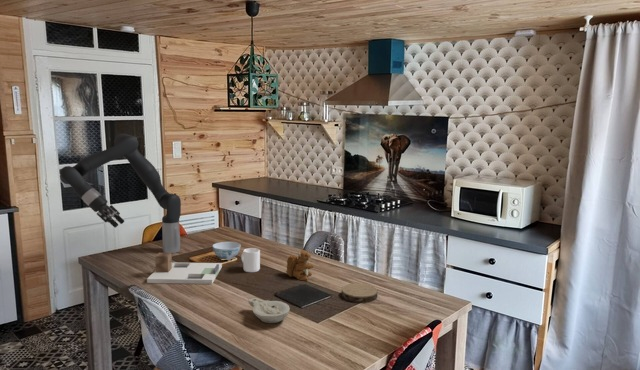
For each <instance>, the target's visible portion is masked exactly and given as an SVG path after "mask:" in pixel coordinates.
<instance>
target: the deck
mask: <svg viewBox="0 0 640 370" xmlns="http://www.w3.org/2000/svg"><path fill="white" fill-rule="evenodd" d="M222 267H223V263H222V262H176V261H175V262H172V269H171V270H170V271H169V272H156V269H155V270H154V271H153V273H151V274H150V275H149V276H148V277H147V278H146V284H181V285H182V284H184V285H186V284H191V285H213V283H214V281H215V280H216V278H215V274H216V272H217V271H218V269H219V272H220V271H221V270H222ZM205 268H214V270H213V274H205V275H204V276H203V277H201V273H202V271H203V270H204V269H205Z"/></svg>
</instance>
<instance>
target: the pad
mask: <svg viewBox="0 0 640 370" xmlns="http://www.w3.org/2000/svg"><path fill="white" fill-rule="evenodd" d="M213 270H214V268H205V269H204V270H203V271H202V273H201V277H203V276H204V275H205V274H213ZM219 273H220V271H219V269H218V271H217V272H216V274H215V279H216V278H217V277H218V275H219Z"/></svg>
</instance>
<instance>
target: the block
mask: <svg viewBox="0 0 640 370" xmlns="http://www.w3.org/2000/svg"><path fill="white" fill-rule="evenodd" d="M172 260H173V259H172V253H164V252H158V253H157V254H156V255H155V256H154V261H155V262H154V263H155V265H154V266H155V270H156V272H169V271H170V270H171V269H172Z"/></svg>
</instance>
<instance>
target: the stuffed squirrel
mask: <svg viewBox="0 0 640 370" xmlns="http://www.w3.org/2000/svg"><path fill="white" fill-rule="evenodd" d="M297 254H298V256H297V255H296V256H295V255H289V256H288V257H287V260H286V271H285V272H286V274H287V276H289V277H291V278H292V277H293V278H295V279H297V280H299V281H304V282H306V281H308V280H309V276H312V275H313V273H312V272H311V271H309V270H311V269H314V264H313V263H311V262H309V261H310V260H311V254H310V253H309V252H307V251H306V250H304V249H302V250H301V251H299V252H298V253H297Z"/></svg>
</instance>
